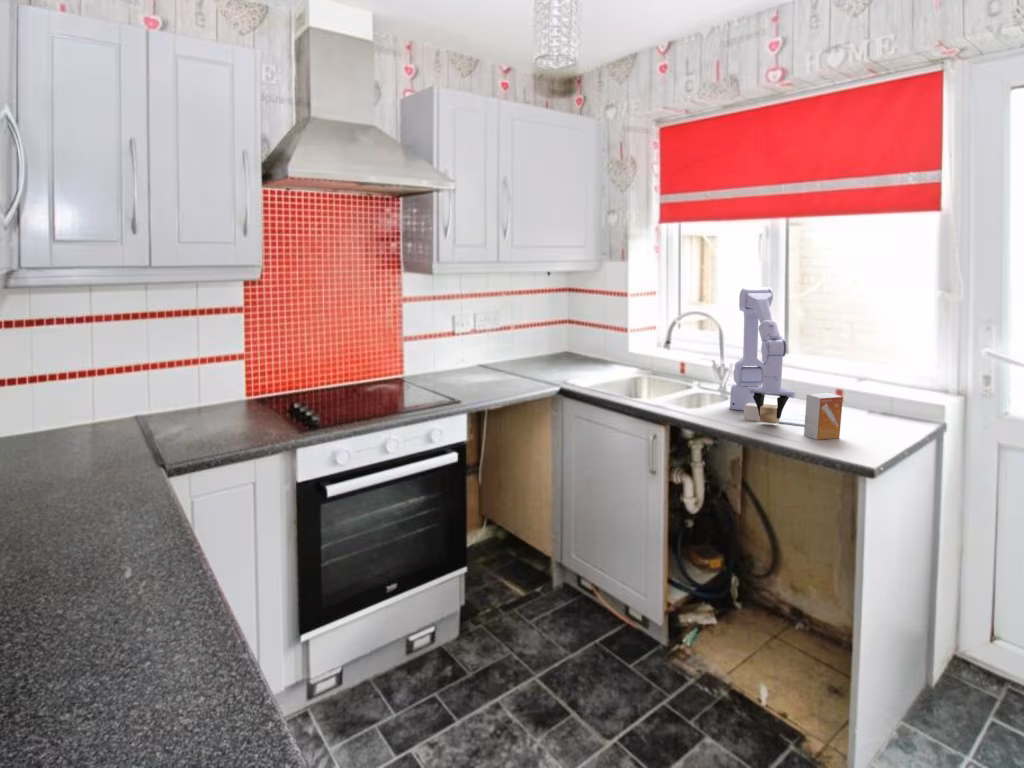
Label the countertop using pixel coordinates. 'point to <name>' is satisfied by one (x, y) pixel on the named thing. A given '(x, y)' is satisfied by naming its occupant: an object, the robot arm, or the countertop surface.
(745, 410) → the top cube
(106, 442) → the countertop surface
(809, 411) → the small box
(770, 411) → the base cube
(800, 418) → the board
